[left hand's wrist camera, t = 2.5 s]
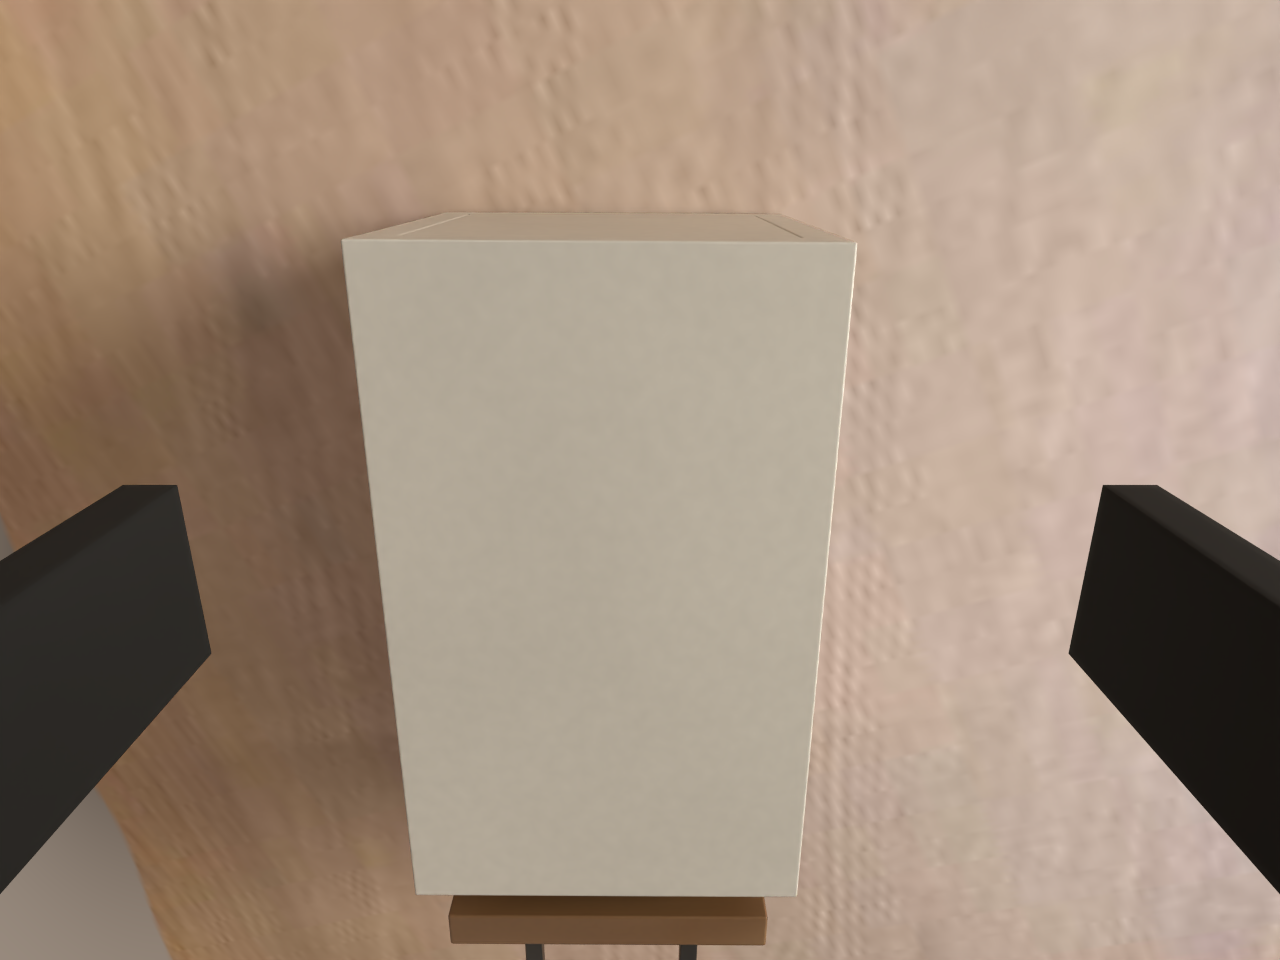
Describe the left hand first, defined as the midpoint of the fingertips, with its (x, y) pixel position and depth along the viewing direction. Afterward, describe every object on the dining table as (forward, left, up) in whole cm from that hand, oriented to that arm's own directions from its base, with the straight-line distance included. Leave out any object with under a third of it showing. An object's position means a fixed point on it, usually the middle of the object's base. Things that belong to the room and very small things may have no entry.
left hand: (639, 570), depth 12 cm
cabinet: (+5, 0, -19) cm, 19 cm away
